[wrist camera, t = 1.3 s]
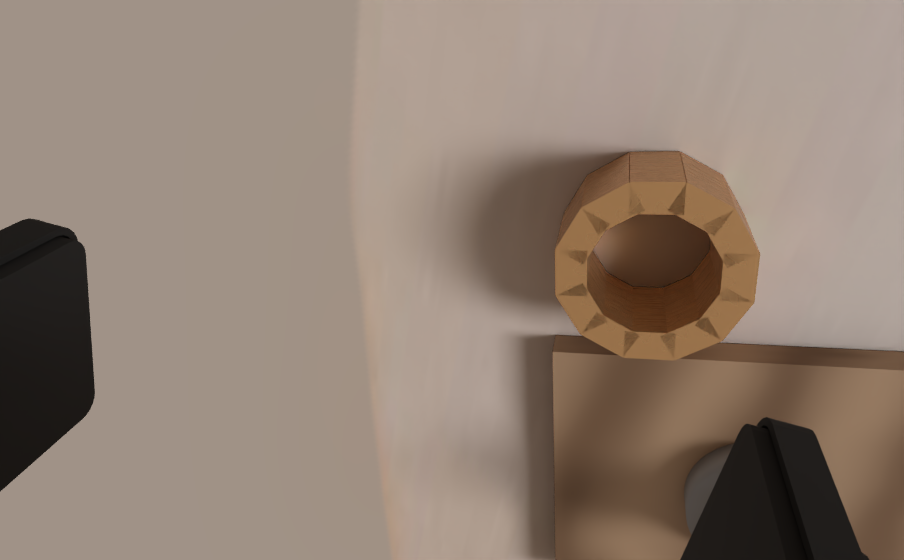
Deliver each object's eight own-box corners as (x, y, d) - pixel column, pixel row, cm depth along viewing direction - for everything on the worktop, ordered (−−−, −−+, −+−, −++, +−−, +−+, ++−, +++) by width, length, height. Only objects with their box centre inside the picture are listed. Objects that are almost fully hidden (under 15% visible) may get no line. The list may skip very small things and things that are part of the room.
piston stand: (1004, 356, 29) (1161, 533, 20) (931, 604, 35) (1028, 822, 26) (555, 335, 33) (529, 474, 24) (558, 560, 39) (537, 735, 30)
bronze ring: (751, 150, 28) (768, 181, 24) (733, 315, 31) (747, 364, 27) (563, 152, 29) (554, 182, 26) (564, 308, 32) (556, 354, 29)
